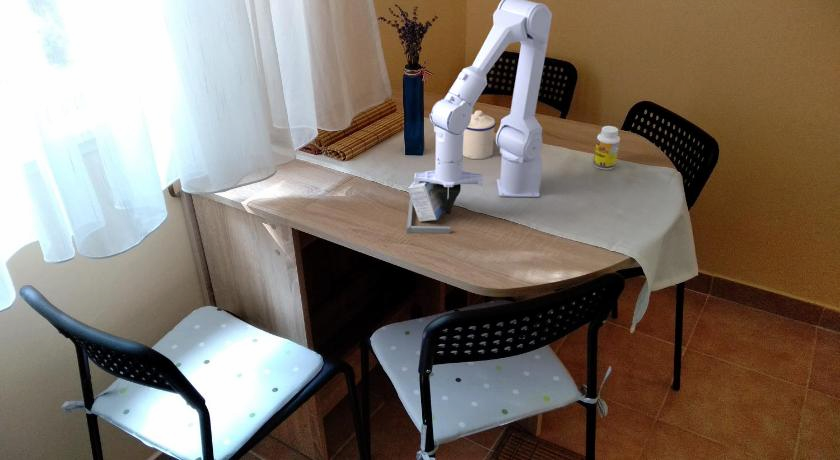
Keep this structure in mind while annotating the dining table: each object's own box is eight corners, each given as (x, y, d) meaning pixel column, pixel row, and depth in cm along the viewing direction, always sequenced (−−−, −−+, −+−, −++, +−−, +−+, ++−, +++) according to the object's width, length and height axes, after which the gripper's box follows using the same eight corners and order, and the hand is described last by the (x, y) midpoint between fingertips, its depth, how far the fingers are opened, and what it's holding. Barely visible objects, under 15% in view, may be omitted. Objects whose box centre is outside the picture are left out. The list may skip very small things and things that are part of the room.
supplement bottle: (588, 163, 163) (594, 126, 158) (606, 159, 165) (612, 122, 160) (601, 172, 159) (607, 134, 154) (619, 168, 161) (626, 131, 155)
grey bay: (449, 203, 146) (449, 199, 145) (450, 233, 136) (450, 228, 135) (409, 202, 146) (409, 198, 146) (407, 232, 136) (407, 227, 135)
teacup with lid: (500, 154, 168) (503, 113, 161) (473, 163, 163) (475, 121, 157) (473, 138, 176) (475, 98, 170) (446, 146, 172) (447, 106, 166)
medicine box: (436, 220, 137) (424, 185, 134) (418, 222, 139) (406, 187, 136) (449, 203, 143) (438, 169, 140) (432, 205, 145) (421, 171, 142)
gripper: (413, 165, 130) (414, 221, 137) (484, 165, 129) (481, 222, 137) (414, 150, 135) (415, 204, 143) (483, 150, 135) (479, 205, 142)
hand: (447, 212), depth 140 cm, fingers closed
